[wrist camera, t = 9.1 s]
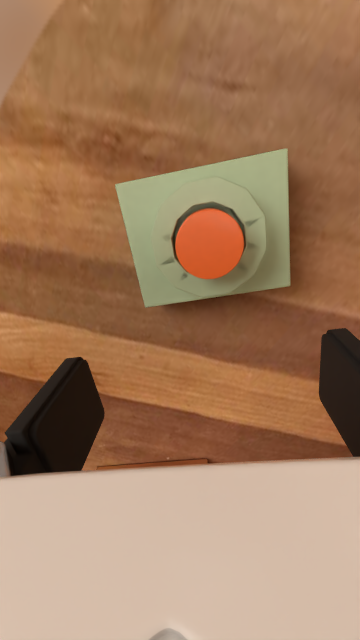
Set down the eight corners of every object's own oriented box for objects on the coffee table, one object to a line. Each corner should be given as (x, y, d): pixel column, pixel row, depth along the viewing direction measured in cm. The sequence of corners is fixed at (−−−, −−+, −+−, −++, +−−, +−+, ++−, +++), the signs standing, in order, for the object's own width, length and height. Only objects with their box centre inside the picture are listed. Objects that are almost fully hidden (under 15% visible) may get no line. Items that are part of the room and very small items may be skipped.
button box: (150, 297, 21) (140, 318, 18) (123, 185, 18) (105, 182, 15) (281, 277, 20) (300, 295, 17) (277, 153, 17) (299, 141, 13)
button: (183, 276, 17) (181, 284, 15) (172, 214, 16) (169, 216, 14) (242, 266, 16) (246, 274, 15) (236, 202, 15) (241, 203, 13)
